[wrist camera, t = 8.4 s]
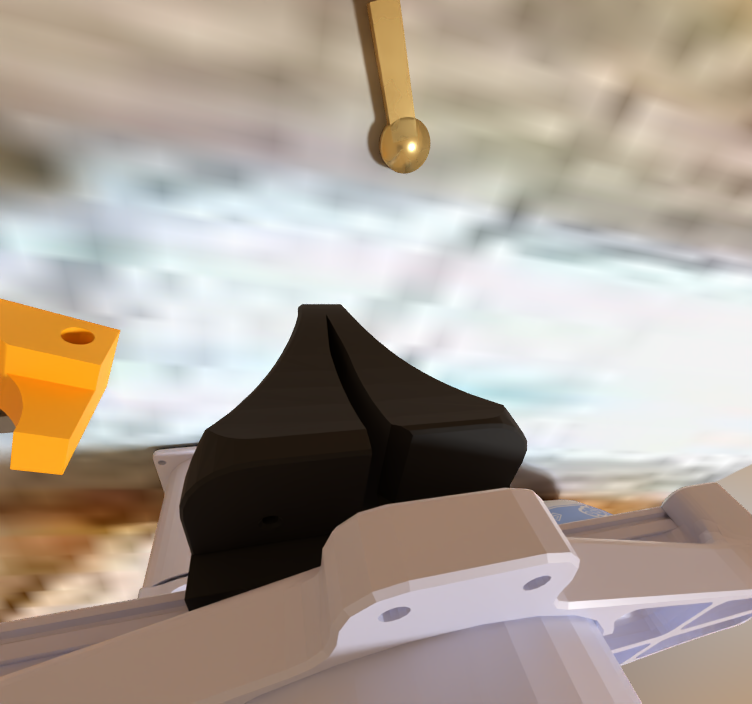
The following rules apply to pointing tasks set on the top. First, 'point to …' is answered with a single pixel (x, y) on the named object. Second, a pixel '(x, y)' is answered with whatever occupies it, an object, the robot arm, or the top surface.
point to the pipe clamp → (50, 382)
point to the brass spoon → (396, 91)
